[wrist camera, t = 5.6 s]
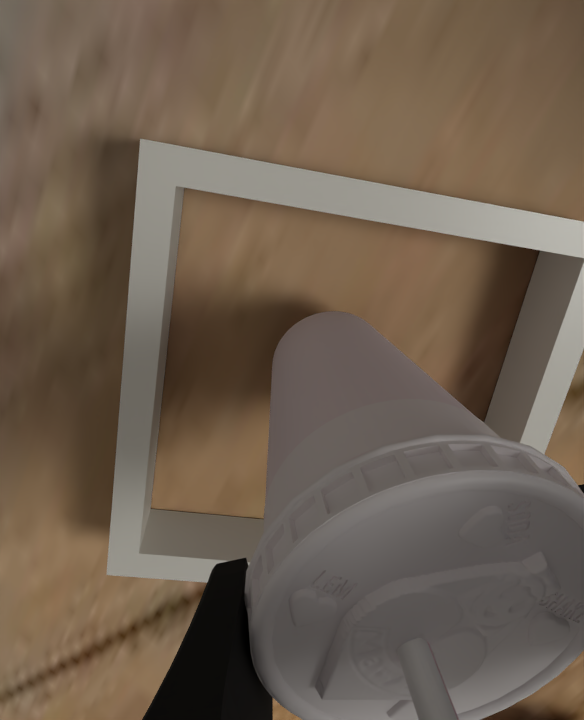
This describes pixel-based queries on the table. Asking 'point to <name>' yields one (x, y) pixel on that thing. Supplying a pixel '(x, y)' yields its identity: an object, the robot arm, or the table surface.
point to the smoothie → (404, 543)
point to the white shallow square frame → (342, 197)
